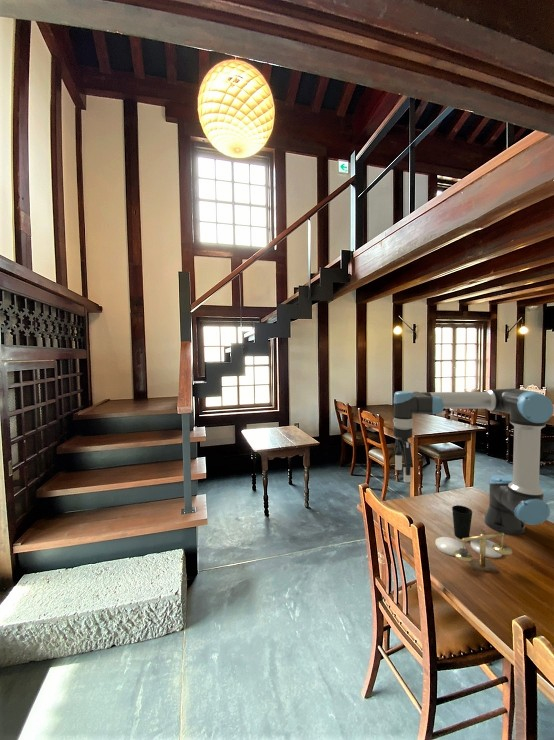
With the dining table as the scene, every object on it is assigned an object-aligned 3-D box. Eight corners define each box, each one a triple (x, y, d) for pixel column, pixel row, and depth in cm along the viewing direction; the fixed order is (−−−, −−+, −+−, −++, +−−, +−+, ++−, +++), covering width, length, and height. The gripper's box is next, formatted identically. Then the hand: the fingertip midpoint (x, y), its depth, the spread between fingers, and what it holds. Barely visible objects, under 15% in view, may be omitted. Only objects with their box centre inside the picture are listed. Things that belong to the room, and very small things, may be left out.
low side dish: (458, 540, 136) (458, 537, 135) (470, 556, 125) (470, 553, 125) (431, 539, 137) (431, 536, 137) (441, 555, 126) (441, 552, 126)
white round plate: (492, 541, 134) (492, 539, 134) (508, 558, 123) (508, 555, 123) (465, 540, 135) (465, 537, 135) (478, 557, 124) (479, 554, 124)
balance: (505, 562, 121) (506, 528, 120) (515, 573, 115) (516, 537, 114) (451, 559, 123) (451, 526, 122) (458, 570, 117) (459, 535, 116)
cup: (474, 542, 134) (475, 514, 133) (455, 540, 136) (455, 513, 135) (467, 531, 142) (468, 505, 141) (449, 530, 143) (449, 504, 142)
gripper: (387, 420, 148) (387, 464, 150) (401, 435, 124) (401, 487, 125) (403, 421, 147) (403, 465, 149) (421, 435, 123) (421, 488, 124)
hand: (402, 475), depth 137 cm, fingers open, 13 cm apart
